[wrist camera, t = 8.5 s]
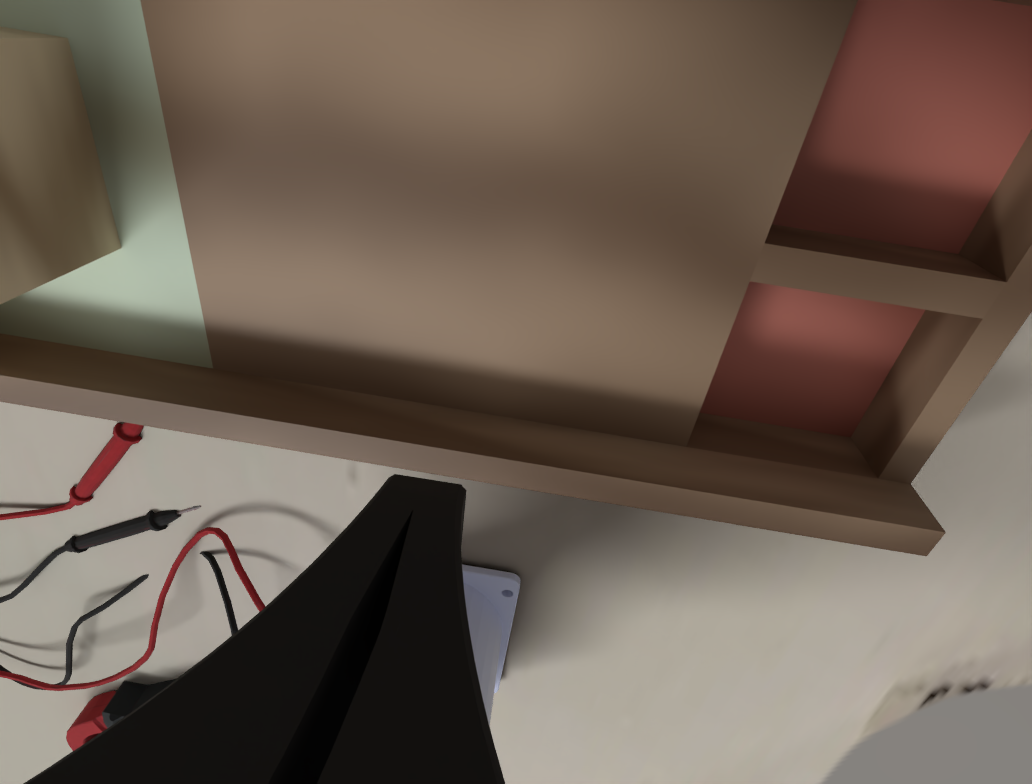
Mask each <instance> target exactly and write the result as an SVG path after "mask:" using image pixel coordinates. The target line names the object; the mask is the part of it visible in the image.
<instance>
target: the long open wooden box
mask: <svg viewBox="0 0 1032 784" xmlns="http://www.w3.org/2000/svg"><path fill="white" fill-rule="evenodd" d="M0 26H1V27H7V28H12V29H18V30H24V31H30V32H36V33H41V34H47V35H53V36H59V37H65V38H68V40H69V44H70V48H71V52H72V56H73V60H74V64H75V68H76V72H77V75H78V79H79V83H80V87H81V91H82V95H83V99H84V103H85V107H86V111H87V115H88V119H89V122H90V126H91V130H92V134H93V138H94V142H95V146H96V150H97V154H98V158H99V162H100V166H101V170H102V173H103V177H104V181H105V185H106V189H107V193H108V197H109V201H110V205H111V209H112V213H113V217H114V220H115V224H116V228H117V232H118V236H119V240H120V244H121V249H119V250H116V251H114V252H112V253H110V254H108V255H106V256H104V257H101V258H99V259H97V260H95V261H93V262H91V263H88V264H86V265H84V266H82V267H80V268H78V269H76V270H73V271H71V272H69V273H67V274H65V275H63V276H61V277H58V278H56V279H54V280H52V281H50V282H48V283H45V284H43V285H41V286H39V287H37V288H35V289H33V290H30V291H28V292H26V293H24V294H22V295H20V296H17V297H15V298H13V299H11V300H9V301H7V302H5V303H2V304H0V402H6V403H12V404H18V405H24V406H30V407H36V408H42V409H48V410H54V411H60V412H66V413H72V414H78V415H84V416H90V417H96V418H102V419H108V420H114V421H120V422H126V423H132V424H138V425H144V426H150V427H156V428H162V429H168V430H174V431H180V432H186V433H192V434H197V435H203V436H209V437H215V438H221V439H227V440H233V441H239V442H245V443H251V444H257V445H263V446H269V447H275V448H281V449H287V450H293V451H299V452H305V453H311V454H317V455H323V456H329V457H335V458H341V459H347V460H353V461H359V462H365V463H371V464H377V465H383V466H389V467H395V468H401V469H407V470H413V471H419V472H425V473H431V474H437V475H443V476H449V477H455V478H461V479H467V480H473V481H479V482H485V483H491V484H497V485H503V486H509V487H515V488H521V489H527V490H533V491H539V492H545V493H551V494H557V495H563V496H569V497H575V498H581V499H587V500H593V501H599V502H605V503H611V504H617V505H623V506H629V507H635V508H641V509H647V510H653V511H659V512H665V513H671V514H677V515H683V516H689V517H695V518H701V519H707V520H713V521H719V522H725V523H731V524H736V525H742V526H748V527H754V528H760V529H766V530H772V531H778V532H784V533H790V534H796V535H802V536H808V537H814V538H820V539H826V540H832V541H838V542H844V543H850V544H856V545H862V546H868V547H874V548H880V549H886V550H892V551H898V552H904V553H910V554H916V555H922V556H927V555H928V554H929V553H930V551H931V550H932V549H933V548H934V546H935V545H936V544H937V543H938V541H939V540H940V539H941V538H942V536H943V535H944V534H945V533H946V532H945V531H944V529H943V528H942V527H941V525H940V524H939V523H938V521H937V520H936V518H935V517H934V516H933V514H932V513H931V512H930V510H929V509H928V507H927V506H926V505H925V503H924V502H923V501H922V499H921V498H920V497H919V495H918V494H917V492H916V491H915V490H914V488H913V487H912V486H911V482H912V481H913V479H914V478H915V477H916V475H917V474H918V472H919V471H920V469H921V468H922V467H923V465H924V464H925V462H926V461H927V459H928V458H929V457H930V455H931V454H932V452H933V451H934V450H935V448H936V447H937V445H938V444H939V442H940V441H941V440H942V438H943V437H944V435H945V434H946V432H947V431H948V430H949V428H950V427H951V425H952V424H953V422H954V421H955V420H956V418H957V417H958V415H959V414H960V413H961V411H962V410H963V408H964V407H965V405H966V404H967V403H968V401H969V400H970V398H971V397H972V395H973V394H974V393H975V391H976V390H977V388H978V387H979V386H980V384H981V383H982V381H983V380H984V378H985V377H986V376H987V374H988V373H989V371H990V370H991V368H992V367H993V366H994V364H995V363H996V361H997V360H998V358H999V357H1000V356H1001V354H1002V353H1003V351H1004V350H1005V349H1006V347H1007V346H1008V344H1009V343H1010V341H1011V340H1012V339H1013V337H1014V336H1015V334H1016V333H1017V331H1018V330H1019V329H1020V327H1021V326H1022V324H1023V323H1024V321H1025V320H1026V319H1027V317H1028V316H1029V314H1030V313H1031V312H1032V0H0Z"/></svg>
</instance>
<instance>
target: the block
mask: <svg viewBox="0 0 1032 784" xmlns="http://www.w3.org/2000/svg"><path fill="white" fill-rule="evenodd" d="M119 249H121V244H120V240H119V236H118V232H117V228H116V224H115V220H114V217H113V213H112V209H111V205H110V201H109V197H108V193H107V189H106V185H105V181H104V177H103V173H102V170H101V166H100V162H99V158H98V154H97V150H96V146H95V142H94V138H93V134H92V130H91V126H90V122H89V119H88V115H87V111H86V107H85V103H84V99H83V95H82V91H81V87H80V83H79V79H78V75H77V72H76V68H75V64H74V60H73V56H72V52H71V48H70V44H69V40H68V38H65V37H59V36H53V35H47V34H41V33H36V32H30V31H24V30H18V29H12V28H7V27H1V26H0V304H2V303H5V302H7V301H9V300H11V299H13V298H15V297H17V296H20V295H22V294H24V293H26V292H28V291H30V290H33V289H35V288H37V287H39V286H41V285H43V284H45V283H48V282H50V281H52V280H54V279H56V278H58V277H61V276H63V275H65V274H67V273H69V272H71V271H73V270H76V269H78V268H80V267H82V266H84V265H86V264H88V263H91V262H93V261H95V260H97V259H99V258H101V257H104V256H106V255H108V254H110V253H112V252H114V251H116V250H119Z"/></svg>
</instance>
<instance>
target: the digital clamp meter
mask: <svg viewBox="0 0 1032 784" xmlns="http://www.w3.org/2000/svg"><path fill="white" fill-rule="evenodd" d="M143 426H144V425H138V424H132V423H126V422H125V423H124V424H123V425H122V424H120V423H117V424H116V425H115V427H114V430H113V434H114V436H113V437H112V438H111V440H110V441H109V442H108V444H107V445H106V446H105V447H104V449H103V450H102V451H101V453H100V454H99V455H98V457H97V458H96V460H95V461H94V462H93V464H92V465H91V466H90V468H89V469H88V470H87V472H86V473H85V475H84V476H83V477H82V479H81V480H80V482H79V483H78V485H77V487H75V486H73V487H72V488H71V489H70V493H69V495H70V500H69V501H70V502H68V503H67V504H64V505H60V506H56V507H51V508H46V509H38V510H31V511H23V512H15V513H7V514H0V520H6V519H14V518H22V517H29V516H37V515H45V514H50V513H54V512H58V511H63V510H67V509H71V508H72V507H73V506H75V505H78V506H79V505H82V504H83V503H85V502H88V501H90V500H91V499H92V498H93V497H92V496H91V495H92V493H93V492H94V491H95V490H96V489H97V488H98V487H99V486H100V484H101V483H102V482H103V481H104V479H105V478H106V477H107V476H108V474H109V473H110V472H111V471H112V469H113V468H114V467H115V466H116V464H117V463H118V462H119V461H120V459H121V458H122V457H123V455H124V454H125V453H126V451H127V450H128V449H129V447H130V446H131V445H132V444H135V443H138V442H139V441H140V440H141V439H142V438H141V437H140V436H139V434H140V432H141V431H142V429H143ZM200 507H201V506H193V507H192V508H187V509H184V510H181V511H177V510H171V511H162V512H157V513H154V512H153V511H149V512H148V513H147V515H146V516H143V517H140V518H136V519H133V520H129V521H126V522H123V523H120V524H116V525H113V526H110V527H107V528H104V529H100V530H97V531H94V532H91V533H88V534H85V535H82V536H80V537H75V536H72V537H71V538H70V540H69V541H67V542H66V543H65V546H64V547H62V548H60V549H58V550H56V551H54V552H53V553H52V554H51V555H50V556H48V557H47V558H46V559H45V560H44V561H43V562H42V563H41V564H40V565H39V566H38V567H37V568H36V569H35V570H34V571H33V572H32V574H31V575H30V576H29V577H28V578H27V579H26V580H25V581H24V582H23V583H22V584H21V585H20V586H19V587H18V588H16V589H15V590H14V591H13V592H12V593H11V594H8V595H6V596H3V597H0V603H2V602H4V601H7V600H9V599H12V598H14V597H15V596H16V595H17V594H18V593H20V592H21V591H22V590H23V589H24V588H26V587H27V586H28V585H29V584H30V583H31V582H32V580H33V579H34V578H35V577H36V576H37V575H38V574H39V573H40V572H41V571H42V570H43V569H44V568H45V567H46V566H47V565H48V564H49V563H50V562H51V561H52V560H53V559H54V558H55V557H56V556H58V555H59V554H61V553H63V552H65V551H69V552H77V553H80V552H83V551H86V550H87V549H88V548H89V547H94V546H97V545H101V544H104V543H108V542H111V541H115V540H118V539H121V538H125V537H128V536H132V535H135V534H138V533H141V532H144V531H148V530H154V531H160V530H163V529H166V528H167V527H168V526H167V525H166V524H168V523H171V522H172V521H174V520H175V519H177V518H179V517H180V516H181V514H182V513H185V512H188V511H192V510H196V509H198V508H200ZM207 534H215V535H216V536H218V537H219V538H220V539H221V540H222V541H223V543H224V545H225V547H226V549H227V551H228V553H229V556H230V558H231V561H232V563H233V565H234V568H235V570H236V572H237V574H238V575H239V577H240V579H241V581H242V583H243V584H244V586H245V588H246V590H247V591H248V593H249V595H250V597H251V598H252V600H253V602H254V604H255V605H256V607H257V608H258V610H259V611H262V610H263V609H264V608H265V605H264V604H263V602H262V601H261V599H260V597H259V595H258V594H257V592H256V590H255V588H254V586H253V585H252V583H251V581H250V579H249V578H248V576H247V574H246V572H245V571H244V569H243V567H242V565H241V563H240V560H239V558H238V556H237V553H236V551H235V549H234V547H233V545H232V543H231V541H230V539H229V537H228V535H227V534H226V533H224V532H223V531H222V530H221V529H220V528H213V527H207V528H205V529H203V530H201V531H199V532H197V533H196V534H195V536H194V537H193V538H192V539H191V540H190V541H189V542H188V543H187V544H186V545H185V546H184V547H183V549H182V551H181V552H180V554H179V555H178V557H177V559H176V560H175V562H174V564H173V565H172V568H171V570H170V572H169V575H168V577H167V579H166V582H165V584H164V586H163V589H162V591H161V593H160V596H159V599H158V603H157V607H156V611H155V614H154V618H153V622H152V626H151V633H150V639H149V646H148V649H147V651H146V652H145V654H144V656H143V657H141V658H140V659H139V660H138V661H137V662H136V663H135V664H133V665H132V666H130V667H128V668H127V669H125V670H123V671H121V672H119V673H117V674H115V675H113V676H110V677H108V678H105V679H102V680H99V681H94V682H90V683H80V684H69V685H65V684H66V683H67V682H68V681H69V680H70V677H71V674H72V650H73V640H74V637H75V634H76V631H77V628H78V626H79V625H80V624H81V623H82V622H83V621H85V620H87V619H89V618H90V617H92V616H94V615H96V614H97V613H99V612H101V611H103V610H104V609H106V608H107V607H109V606H110V605H111V604H113V603H114V602H116V601H117V600H119V599H120V598H121V597H123V596H124V595H126V594H127V593H129V592H130V591H131V590H132V589H134V588H135V587H136V586H138V585H139V584H140V583H141V582H143V581H144V580H145V579H147V578H148V575H149V574H147V575H143V576H141V577H140V578H138V579H137V580H136V581H134V582H133V583H132V584H130V585H129V586H128V587H127V588H125V589H124V590H122V591H121V592H120V593H118V594H117V595H115V596H114V597H112V598H111V599H110V600H108V601H107V602H105V603H104V604H103V605H101V606H99V607H97V608H96V609H94V610H92V611H90V612H89V613H87V614H85V615H83V616H82V617H80V618H79V619H78V620H77V622H76V623H75V624H74V625H73V626H72V628H71V631H70V634H69V637H68V640H67V643H66V675H65V678H64V680H63V681H62V682H60V683H58V684H48V683H44V682H41V681H37V680H34V679H31V678H28V677H25V676H22V675H18V674H14V673H11V672H10V671H8V670H7V669H5V668H4V667H3V666H1V665H0V677H3V678H8V679H11V680H13V681H15V682H17V683H19V684H21V685H24V686H27V687H30V688H33V689H41V690H54V691H63V690H76V689H86V688H91V687H95V686H100V685H103V684H106V683H109V682H112V681H115V680H117V679H119V678H121V677H123V676H125V675H127V674H129V673H131V672H133V671H135V670H136V669H137V668H139V667H140V666H141V665H142V664H143V663H144V662H146V661H147V660H148V659H149V657H150V655H151V654H152V652H153V650H154V648H155V642H156V636H157V629H158V623H159V620H160V616H161V612H162V608H163V604H164V601H165V597H166V594H167V592H168V590H169V587H170V585H171V583H172V581H173V578H174V576H175V574H176V571H177V569H178V567H179V566H180V564H181V562H182V561H183V559H184V558H185V556H186V554H187V553H188V551H189V550H190V549H191V548H192V547H193V546H194V545H195V544H196V543H197V542H198V541H199V540H200V539H201V537H203V536H205V535H207ZM200 554H202V555H203V556H204V557H205V558H206V559H207V560H208V561H209V563H210V565H211V567H212V569H213V571H214V573H215V576H216V579H217V582H218V585H219V588H220V592H221V595H222V598H223V601H224V604H225V608H226V612H227V616H228V620H229V624H230V628H231V633H232V635H233V634H235V633H236V632H237V631H238V628H237V624H236V620H235V616H234V612H233V608H232V604H231V600H230V597H229V594H228V591H227V588H226V585H225V581H224V578H223V575H222V572H221V569H220V567H219V565H218V563H217V561H216V559H215V557H214V556H213V555H211V554H210V553H208V552H201V553H200ZM175 680H176V679H175ZM175 680H170V681H165V682H160V683H156V684H151V685H144V684H139V683H133V682H128V681H124V682H123V683H122V684H121V686H120V687H119V689H118V690H117V692H116V691H115V690H114V691H110V692H106V693H102V694H100V695H97V696H95V697H94V698H93V699H91V700H90V701H89V702H88V704H87V705H86V706H85V708H84V709H83V711H82V712H81V713H80V715H79V716H78V717H77V719H76V720H75V722H74V723H73V724H72V726H71V727H70V728H69V730H68V731H67V736H66V739H67V742H68V744H69V746H70V747H71V748H72V750H73V751H74V750H76V749H77V748H79V747H80V746H82V745H83V744H85V743H86V742H88V741H89V740H91V739H92V738H94V737H95V736H97V735H98V734H100V733H101V732H103V731H104V730H106V729H107V728H109V727H110V726H112V725H113V724H115V723H116V722H118V721H119V720H121V719H122V718H124V717H125V716H127V715H128V714H130V713H131V712H132V711H134V710H135V709H137V708H138V707H139V706H141V705H142V704H144V703H145V702H146V701H148V700H149V699H151V698H152V697H153V696H155V695H156V694H157V693H159V692H160V691H162V690H163V689H164V688H166V687H167V686H168V685H170V684H171V683H172V682H173V681H175Z"/></svg>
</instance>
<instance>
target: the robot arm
mask: <svg viewBox="0 0 1032 784" xmlns="http://www.w3.org/2000/svg"><path fill="white" fill-rule="evenodd" d="M465 500H466V490H465V488H464V487H463V486H462V485H460V484H454V483H448V482H441V481H435V480H428V479H422V478H416V477H409V476H403V475H397V474H394V475H393V476H391V477H389V478H388V479H387V481H386V482H385V483H384V485H383V486H382V487H381V488H380V490H379V491H378V492H377V493H376V494H375V496H374V497H373V498H372V499H371V500H370V502H369V503H368V504H367V505H366V506H365V507H364V509H363V510H362V511H361V512H360V513H359V514H358V515H357V516H356V518H355V519H354V520H353V521H352V522H351V523H350V524H349V525H348V526H347V528H346V529H345V530H344V531H343V532H342V533H341V534H340V535H339V536H338V537H337V538H336V539H335V540H334V541H333V542H332V543H331V544H330V545H329V546H328V547H327V548H326V550H325V551H324V552H323V553H322V554H321V555H320V556H319V557H318V558H317V559H316V560H315V561H314V562H313V563H312V564H311V565H310V566H309V567H308V568H307V569H306V570H305V571H304V572H303V573H301V574H300V575H299V576H298V577H297V578H296V579H295V580H294V581H293V582H292V583H291V584H290V585H289V586H288V587H287V588H286V589H284V590H283V591H282V592H281V593H280V594H279V595H278V596H277V597H276V598H275V599H274V600H273V601H272V602H271V603H269V604H268V605H267V606H266V607H265V608H264V609H263V610H262V611H260V612H259V613H258V614H257V615H256V616H255V617H254V618H252V619H251V620H250V621H249V622H248V623H247V624H245V625H244V626H243V627H242V628H241V629H240V630H238V631H237V632H236V633H235V634H233V635H232V636H231V637H230V638H229V639H227V640H226V641H225V642H224V643H222V644H221V645H220V646H219V647H218V648H216V649H215V650H214V651H213V652H211V653H210V654H209V655H208V656H206V657H205V658H204V659H202V660H201V661H200V662H198V663H197V664H196V665H194V666H193V667H192V668H191V669H189V670H188V671H187V672H185V673H184V674H183V675H181V676H180V677H179V678H177V679H176V680H175V681H173V682H172V683H171V684H170V685H168V686H167V687H166V688H164V689H163V690H162V691H160V692H159V693H157V694H156V695H155V696H153V697H152V698H151V699H149V700H148V701H146V702H145V703H144V704H142V705H141V706H139V707H138V708H137V709H135V710H134V711H132V712H131V713H130V714H128V715H127V716H125V717H124V718H122V719H121V720H119V721H118V722H116V723H115V724H113V725H112V726H110V727H109V728H107V729H106V730H104V731H103V732H101V733H100V734H98V735H97V736H95V737H94V738H92V739H91V740H89V741H88V742H86V743H85V744H83V745H82V746H80V747H79V748H77V749H76V750H74V751H73V752H71V753H70V754H68V755H67V756H65V757H64V758H62V759H61V760H59V761H58V762H56V763H55V764H53V765H52V766H51V767H49V768H47V769H46V770H44V771H43V772H41V773H40V774H38V775H36V776H35V777H33V778H32V779H30V780H29V781H27V782H25V783H24V784H505V781H504V778H503V774H502V771H501V767H500V764H499V760H498V757H497V753H496V750H495V746H494V743H493V739H492V735H491V731H490V727H489V726H490V719H491V711H492V704H493V696H494V693H496V692H497V691H498V689H499V685H500V680H501V675H502V670H503V666H504V661H505V656H506V651H507V647H508V642H509V637H510V632H511V628H512V623H513V618H514V613H515V609H516V604H517V599H518V594H519V590H520V582H521V581H520V578H519V576H517V575H516V574H514V573H510V572H504V571H498V570H492V569H486V568H480V567H474V566H469V565H463V564H462V558H461V542H462V532H463V521H464V510H465Z"/></svg>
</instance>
